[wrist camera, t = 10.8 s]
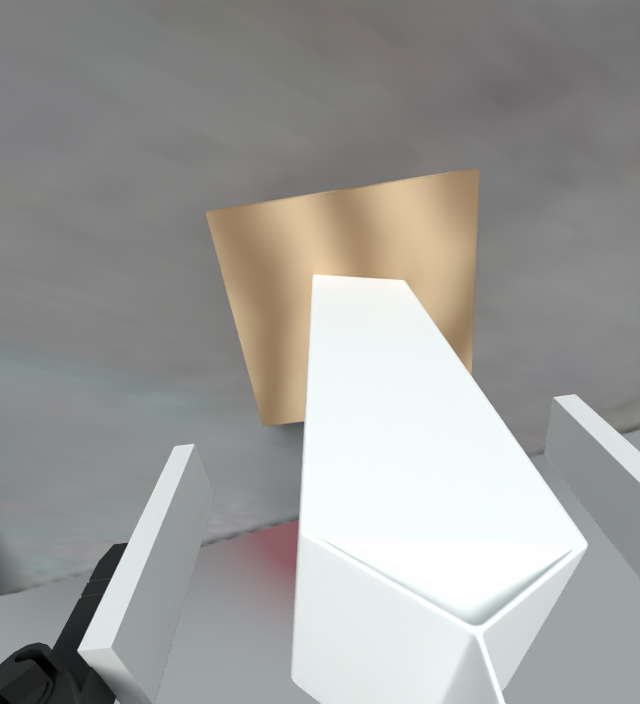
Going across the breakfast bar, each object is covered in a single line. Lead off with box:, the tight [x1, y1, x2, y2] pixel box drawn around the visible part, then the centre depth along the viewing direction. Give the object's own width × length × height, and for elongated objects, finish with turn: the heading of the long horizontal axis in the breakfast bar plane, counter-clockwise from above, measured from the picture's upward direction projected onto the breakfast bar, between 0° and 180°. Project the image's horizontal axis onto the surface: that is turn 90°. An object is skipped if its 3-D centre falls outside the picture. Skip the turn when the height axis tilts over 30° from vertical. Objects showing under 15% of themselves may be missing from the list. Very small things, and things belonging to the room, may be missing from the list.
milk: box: [291, 275, 588, 704], centre depth 16 cm, size 6×6×22 cm
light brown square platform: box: [206, 169, 479, 426], centre depth 28 cm, size 16×16×6 cm
